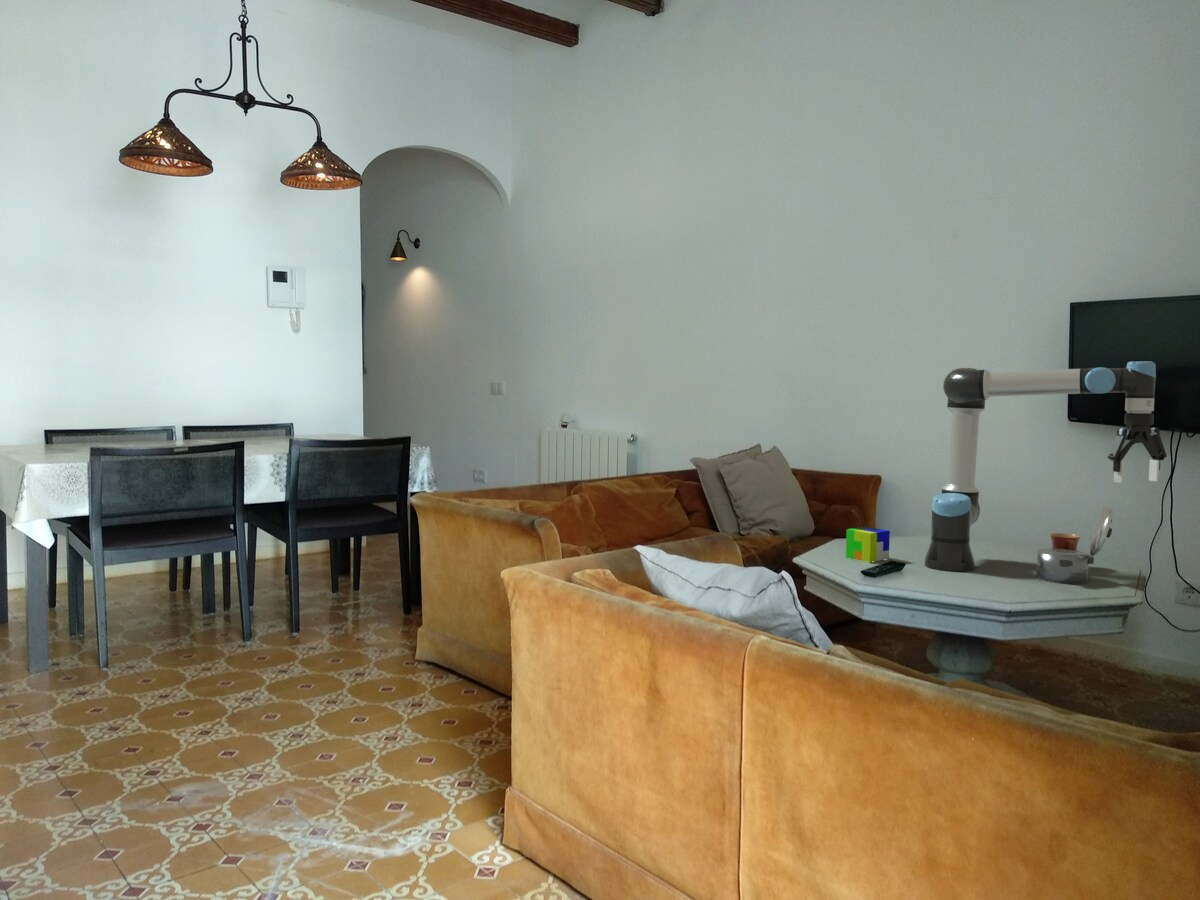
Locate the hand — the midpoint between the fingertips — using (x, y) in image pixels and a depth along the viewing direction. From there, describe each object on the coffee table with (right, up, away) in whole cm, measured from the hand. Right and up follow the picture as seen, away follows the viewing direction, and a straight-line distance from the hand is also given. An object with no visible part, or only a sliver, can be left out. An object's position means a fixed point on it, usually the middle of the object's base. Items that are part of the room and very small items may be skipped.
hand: (1136, 481), depth 265 cm
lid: (-14, -15, -4) cm, 20 cm away
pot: (-22, -30, +1) cm, 37 cm away
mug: (-13, -29, +17) cm, 36 cm away
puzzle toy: (-73, -28, +31) cm, 84 cm away
